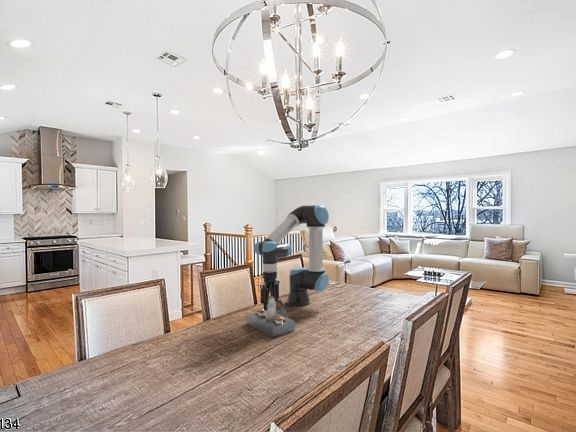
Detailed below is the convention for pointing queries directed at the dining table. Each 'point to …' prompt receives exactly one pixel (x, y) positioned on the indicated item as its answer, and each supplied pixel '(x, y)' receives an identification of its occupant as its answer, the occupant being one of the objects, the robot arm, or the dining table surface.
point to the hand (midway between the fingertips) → (270, 314)
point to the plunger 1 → (260, 311)
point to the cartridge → (271, 308)
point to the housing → (270, 324)
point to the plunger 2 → (278, 319)
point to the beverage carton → (281, 308)
